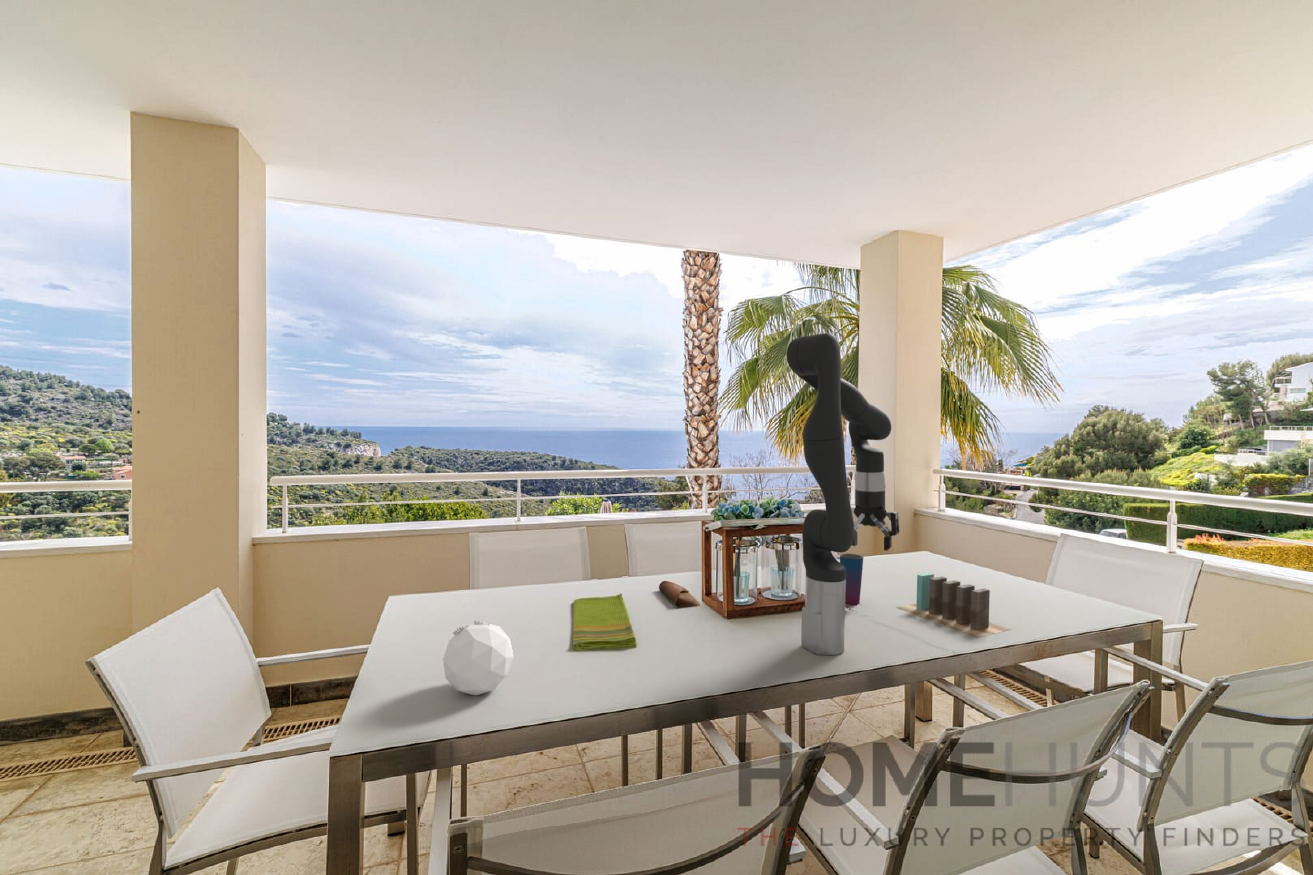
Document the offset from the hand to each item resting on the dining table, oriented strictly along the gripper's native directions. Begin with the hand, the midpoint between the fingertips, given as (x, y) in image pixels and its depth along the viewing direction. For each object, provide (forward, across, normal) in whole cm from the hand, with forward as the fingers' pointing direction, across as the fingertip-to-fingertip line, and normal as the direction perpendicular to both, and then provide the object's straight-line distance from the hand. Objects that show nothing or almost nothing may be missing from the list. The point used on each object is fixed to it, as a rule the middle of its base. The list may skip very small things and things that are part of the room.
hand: (870, 547), depth 148 cm
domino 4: (+22, +19, +17) cm, 33 cm away
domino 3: (+22, +15, +19) cm, 32 cm away
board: (+23, +15, +19) cm, 33 cm away
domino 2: (+22, +12, +20) cm, 32 cm away
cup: (+22, -11, +13) cm, 28 cm away
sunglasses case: (+20, -53, -18) cm, 59 cm away
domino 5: (+21, +23, +15) cm, 35 cm away
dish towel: (+19, -54, -49) cm, 75 cm away
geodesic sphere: (+16, -45, -91) cm, 103 cm away
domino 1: (+22, +8, +22) cm, 32 cm away
